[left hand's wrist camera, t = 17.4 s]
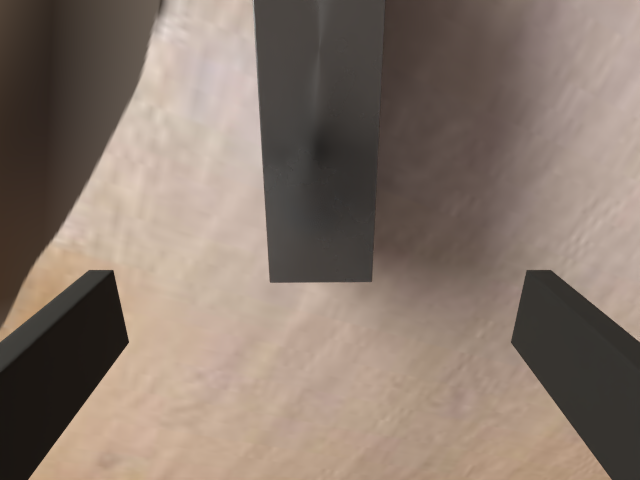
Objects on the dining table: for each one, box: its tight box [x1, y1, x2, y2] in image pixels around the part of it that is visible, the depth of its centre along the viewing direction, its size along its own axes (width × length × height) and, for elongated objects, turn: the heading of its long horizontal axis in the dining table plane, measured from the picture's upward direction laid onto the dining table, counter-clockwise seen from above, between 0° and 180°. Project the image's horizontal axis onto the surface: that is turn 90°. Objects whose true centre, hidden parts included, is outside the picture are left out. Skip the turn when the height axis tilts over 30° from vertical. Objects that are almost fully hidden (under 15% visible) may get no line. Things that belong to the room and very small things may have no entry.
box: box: [253, 0, 385, 283], centre depth 23 cm, size 24×6×10 cm, turn 0°
